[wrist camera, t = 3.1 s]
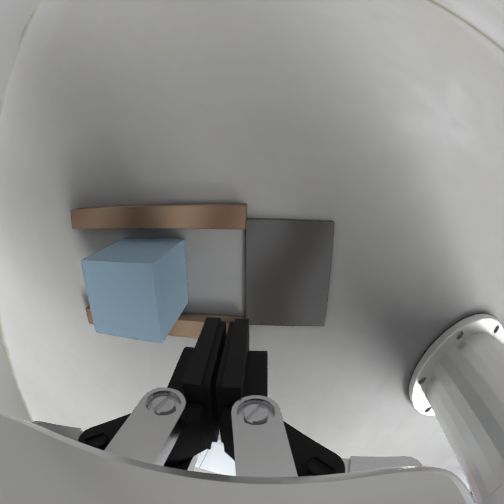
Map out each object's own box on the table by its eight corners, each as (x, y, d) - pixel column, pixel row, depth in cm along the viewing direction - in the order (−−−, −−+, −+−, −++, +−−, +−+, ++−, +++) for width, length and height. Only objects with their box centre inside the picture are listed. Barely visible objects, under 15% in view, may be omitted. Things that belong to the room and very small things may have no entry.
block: (184, 238, 20) (152, 263, 15) (189, 301, 22) (162, 342, 16) (125, 237, 21) (81, 260, 15) (132, 296, 22) (96, 332, 16)
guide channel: (334, 207, 19) (338, 209, 18) (322, 334, 22) (324, 343, 20) (79, 208, 20) (70, 210, 19) (95, 317, 23) (89, 323, 22)
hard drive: (310, 459, 25) (202, 436, 25) (282, 487, 27) (189, 467, 27) (309, 449, 27) (205, 426, 26) (282, 477, 29) (192, 457, 29)
